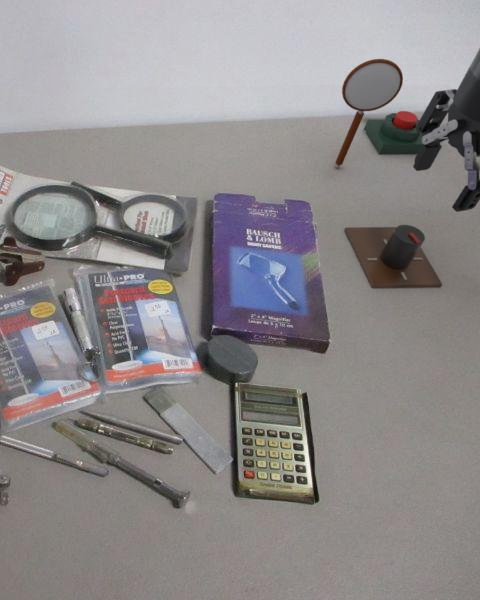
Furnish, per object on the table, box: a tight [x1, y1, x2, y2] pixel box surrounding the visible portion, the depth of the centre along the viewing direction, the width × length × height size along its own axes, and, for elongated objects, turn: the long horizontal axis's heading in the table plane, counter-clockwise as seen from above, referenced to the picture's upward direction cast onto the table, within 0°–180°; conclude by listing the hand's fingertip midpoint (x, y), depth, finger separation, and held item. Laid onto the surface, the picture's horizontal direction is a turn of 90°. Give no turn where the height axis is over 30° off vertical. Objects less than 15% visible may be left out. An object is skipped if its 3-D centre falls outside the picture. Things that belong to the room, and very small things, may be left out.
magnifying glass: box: [334, 58, 404, 169], centre depth 97 cm, size 9×2×20 cm, turn 81°
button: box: [393, 110, 419, 130], centre depth 107 cm, size 4×4×2 cm
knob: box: [381, 224, 426, 269], centre depth 85 cm, size 4×4×5 cm
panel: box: [343, 226, 443, 289], centre depth 88 cm, size 10×12×3 cm
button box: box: [363, 112, 423, 155], centre depth 109 cm, size 9×8×4 cm
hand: (439, 188), depth 78 cm, fingers open, 8 cm apart
